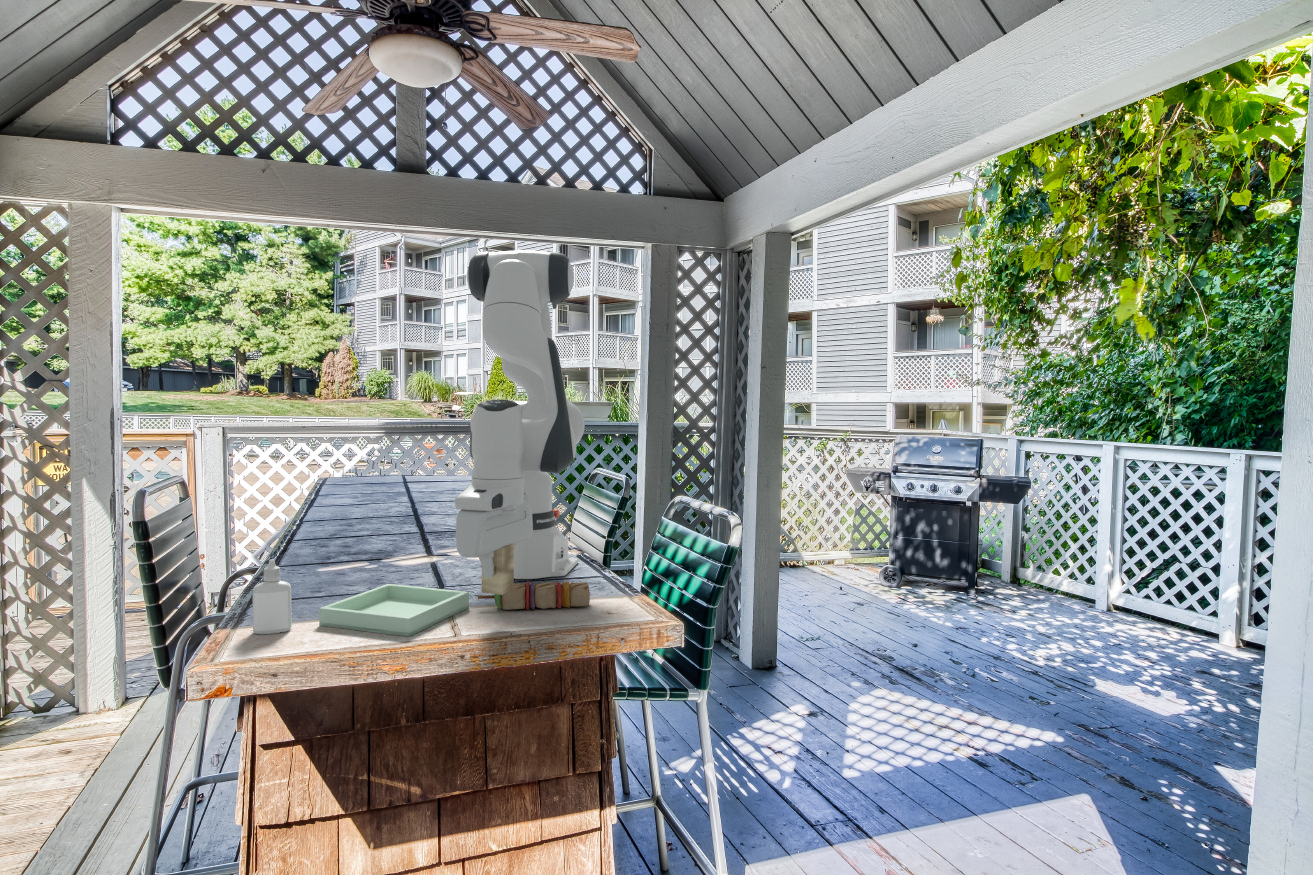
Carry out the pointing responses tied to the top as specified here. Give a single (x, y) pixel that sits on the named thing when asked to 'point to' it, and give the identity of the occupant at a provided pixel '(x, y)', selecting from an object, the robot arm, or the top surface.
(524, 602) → the skewer
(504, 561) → the birch block
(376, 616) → the tray
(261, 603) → the eye dropper bottle
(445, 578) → the top surface
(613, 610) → the top surface
